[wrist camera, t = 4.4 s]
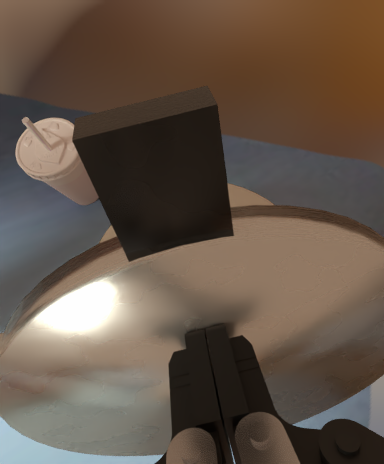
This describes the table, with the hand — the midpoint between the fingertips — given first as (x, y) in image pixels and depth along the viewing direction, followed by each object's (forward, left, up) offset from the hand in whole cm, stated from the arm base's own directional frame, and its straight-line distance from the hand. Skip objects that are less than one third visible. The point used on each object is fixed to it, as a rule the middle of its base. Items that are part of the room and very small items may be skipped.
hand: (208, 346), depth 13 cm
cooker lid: (0, 0, -3) cm, 3 cm away
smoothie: (-22, +7, -23) cm, 33 cm away
